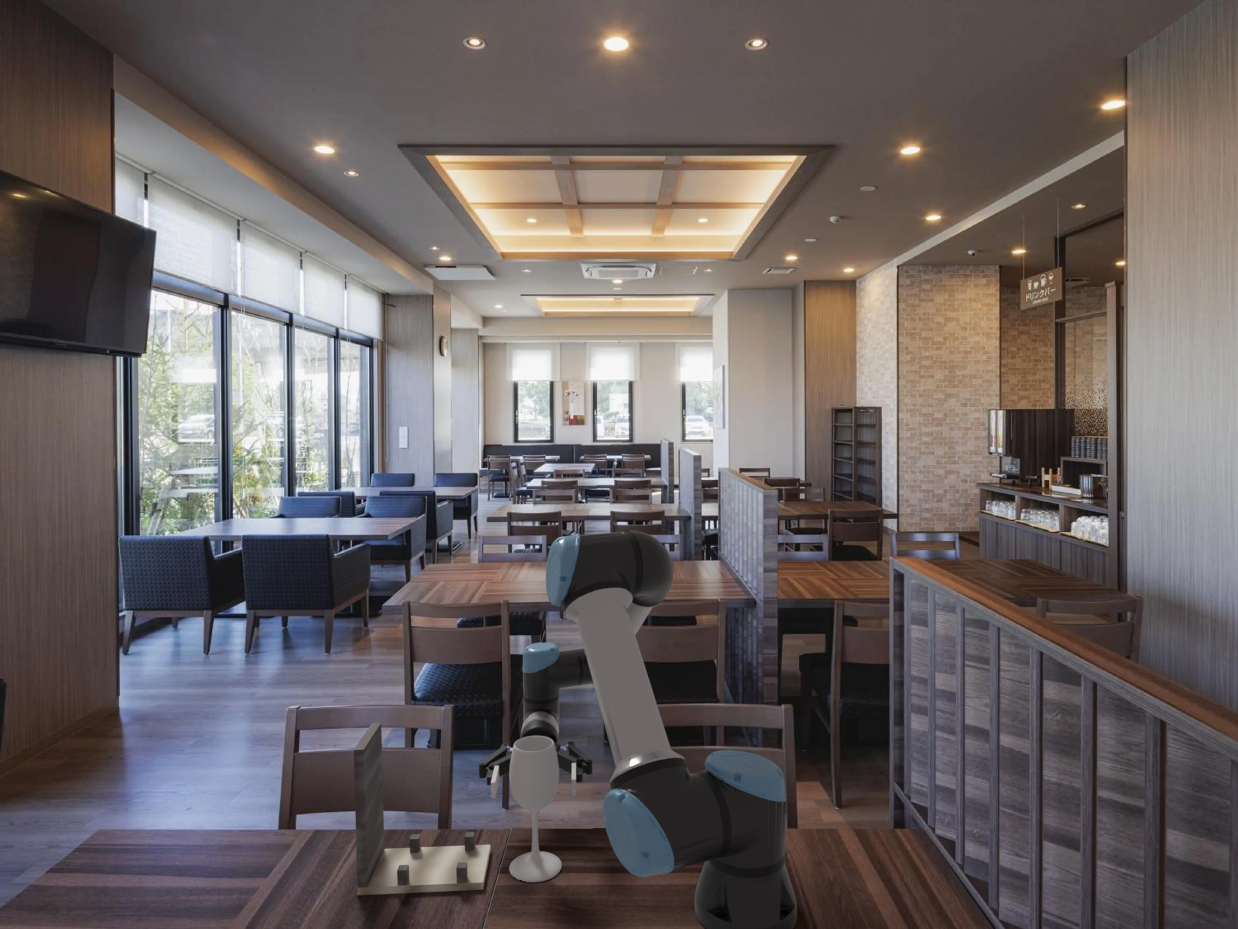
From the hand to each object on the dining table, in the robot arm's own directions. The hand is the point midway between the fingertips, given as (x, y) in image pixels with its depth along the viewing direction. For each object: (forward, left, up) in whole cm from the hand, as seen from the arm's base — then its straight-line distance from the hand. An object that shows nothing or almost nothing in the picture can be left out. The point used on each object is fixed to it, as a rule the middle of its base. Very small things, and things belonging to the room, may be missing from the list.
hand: (533, 789), depth 129 cm
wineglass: (0, +3, -12) cm, 12 cm away
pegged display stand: (+17, +3, -12) cm, 21 cm away
